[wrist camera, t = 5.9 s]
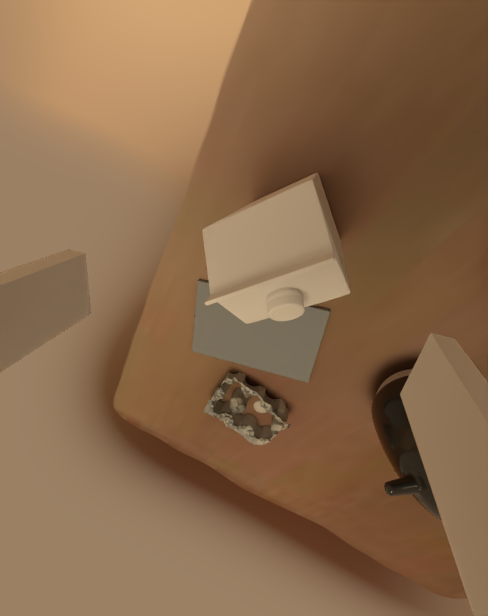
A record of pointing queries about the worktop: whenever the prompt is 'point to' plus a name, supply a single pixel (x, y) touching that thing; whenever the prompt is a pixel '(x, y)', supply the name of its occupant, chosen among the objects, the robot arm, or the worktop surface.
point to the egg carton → (237, 405)
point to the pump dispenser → (401, 443)
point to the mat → (259, 338)
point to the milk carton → (276, 255)
